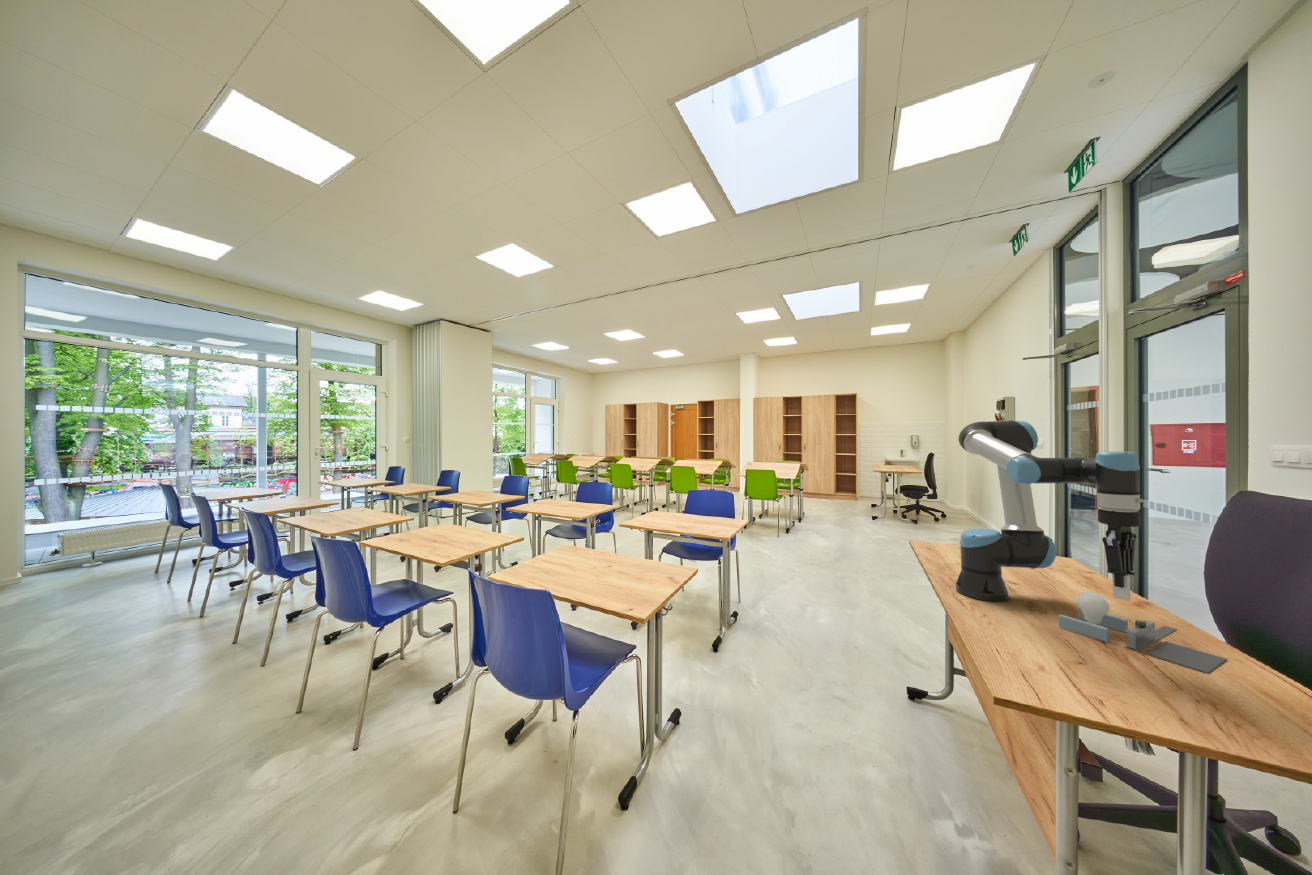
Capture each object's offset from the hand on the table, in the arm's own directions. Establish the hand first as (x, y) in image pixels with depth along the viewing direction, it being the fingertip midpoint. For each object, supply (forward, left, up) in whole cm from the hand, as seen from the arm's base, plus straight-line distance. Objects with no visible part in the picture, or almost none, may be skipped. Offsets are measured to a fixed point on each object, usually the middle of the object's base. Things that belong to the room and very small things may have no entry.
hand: (1121, 598), depth 106 cm
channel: (-10, +12, -15) cm, 21 cm away
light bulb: (-10, +12, -15) cm, 22 cm away
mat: (+7, +12, -15) cm, 20 cm away
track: (0, +19, -15) cm, 24 cm away
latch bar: (0, +12, -15) cm, 19 cm away
